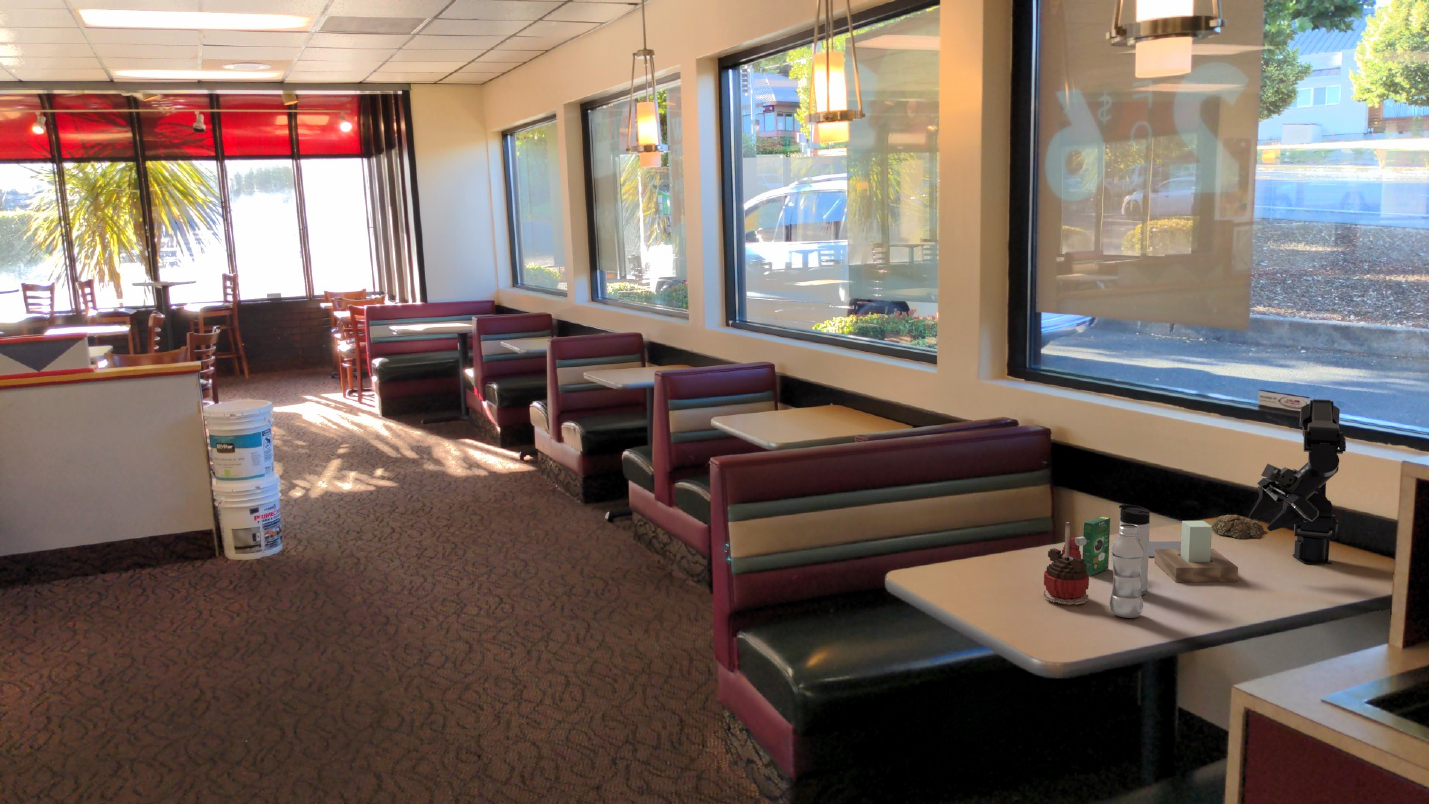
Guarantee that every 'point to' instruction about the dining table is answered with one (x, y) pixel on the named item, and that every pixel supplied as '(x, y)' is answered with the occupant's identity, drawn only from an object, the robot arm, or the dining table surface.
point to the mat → (1162, 546)
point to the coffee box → (1096, 544)
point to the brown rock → (1237, 527)
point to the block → (1196, 541)
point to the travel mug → (1141, 519)
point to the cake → (1067, 572)
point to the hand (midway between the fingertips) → (1258, 523)
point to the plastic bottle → (1127, 573)
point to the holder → (1196, 567)
